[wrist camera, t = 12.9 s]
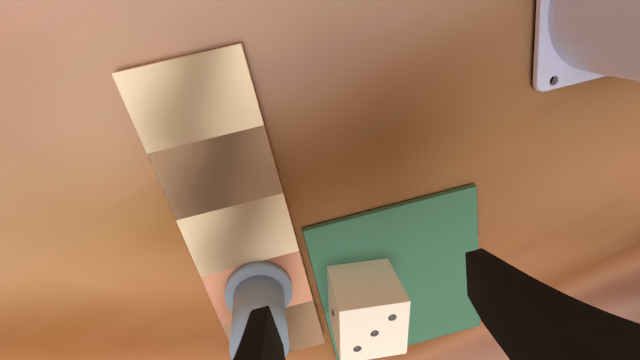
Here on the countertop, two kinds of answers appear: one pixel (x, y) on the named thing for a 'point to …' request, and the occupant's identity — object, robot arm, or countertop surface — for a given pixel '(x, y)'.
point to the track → (219, 174)
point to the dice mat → (409, 256)
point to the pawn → (258, 298)
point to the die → (367, 310)
